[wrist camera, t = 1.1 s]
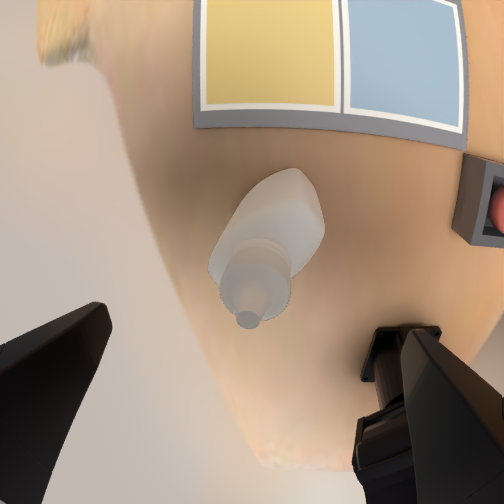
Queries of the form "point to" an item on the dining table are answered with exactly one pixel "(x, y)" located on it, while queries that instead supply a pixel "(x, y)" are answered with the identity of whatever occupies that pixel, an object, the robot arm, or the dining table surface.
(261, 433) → the dining table surface
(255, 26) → the grey flat rectangular board
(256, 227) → the eye dropper bottle
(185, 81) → the dining table surface
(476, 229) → the button housing
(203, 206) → the dining table surface
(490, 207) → the button
